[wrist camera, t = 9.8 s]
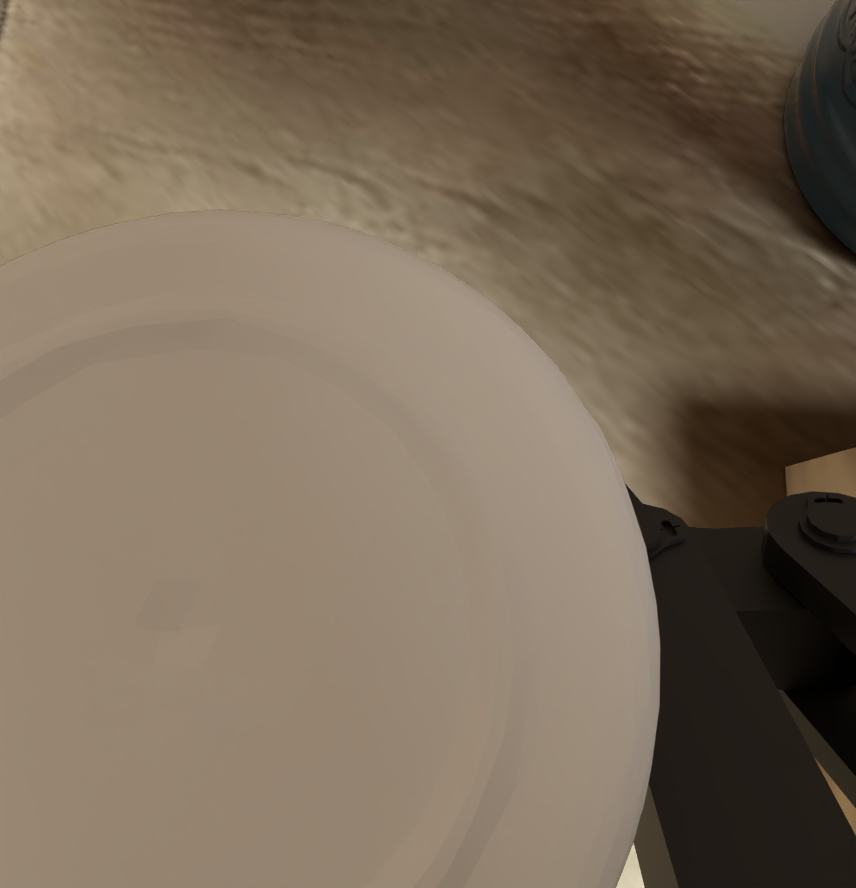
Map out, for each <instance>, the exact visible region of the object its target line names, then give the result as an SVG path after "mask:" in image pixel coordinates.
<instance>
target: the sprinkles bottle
mask: <svg viewBox="0 0 856 888" xmlns="http://www.w3.org/2000/svg"><path fill="white" fill-rule="evenodd" d="M659 706H660V636H659V625H658V614H657V604H656V598H655V593H654V587H653V582H652V577H651V571H650V566H649V561H648V555H647V550H646V546H645V543H644V540H643V537H642V534H641V530H640V527H639V524H638V521H637V518H636V515H635V512H634V509H633V506H632V503H631V500H630V497H629V494H628V490H627V488H626V485H625V483H624V481H623V478H622V476H621V473H620V471H619V468H618V466H617V463H616V461H615V458H614V456H613V454H612V452H611V449H610V447H609V445H608V443H607V441H606V439H605V437H604V435H603V433H602V431H601V428H600V427H599V425H598V424H597V423H596V421H595V420H594V419H593V418H592V416H591V415H590V414H589V412H588V411H587V410H586V409H585V407H584V406H583V404H582V403H581V401H580V399H579V397H578V395H577V393H576V392H575V391H574V389H573V388H572V387H571V385H570V384H569V382H568V381H567V380H566V378H565V377H564V375H563V374H562V373H561V371H560V370H559V369H558V367H557V366H556V364H555V363H554V362H553V361H552V360H551V359H550V358H549V357H548V356H547V355H546V354H545V353H544V351H543V350H542V349H541V348H540V347H539V346H538V345H537V344H536V343H535V342H534V341H533V340H532V339H531V338H530V337H529V336H528V334H527V333H525V332H524V331H523V330H522V329H521V328H520V327H519V326H518V325H517V324H516V323H515V322H514V321H513V320H512V319H511V318H510V317H508V316H507V315H506V314H505V313H504V312H503V311H502V310H500V309H499V308H498V307H497V306H495V305H494V304H493V303H492V302H490V301H489V300H488V299H486V298H485V297H484V296H483V295H481V294H480V293H479V292H477V291H476V290H474V289H473V288H471V287H470V286H468V285H467V284H465V283H464V282H463V281H461V280H460V279H458V278H457V277H455V276H454V275H452V274H451V273H449V272H448V271H446V270H444V269H442V268H440V267H438V266H437V265H435V264H433V263H431V262H429V261H428V260H426V259H424V258H422V257H420V256H418V255H417V254H414V253H412V252H410V251H407V250H405V249H403V248H400V247H398V246H396V245H394V244H391V243H389V242H387V241H384V240H382V239H380V238H378V237H375V236H372V235H369V234H365V233H362V232H359V231H356V230H353V229H349V228H346V227H342V226H338V225H335V224H331V223H327V222H324V221H318V220H313V219H307V218H301V217H296V216H290V215H285V214H272V213H259V212H245V211H232V210H209V211H193V212H177V213H169V214H164V215H159V216H153V217H148V218H143V219H138V220H132V221H127V222H122V223H117V224H113V225H109V226H105V227H101V228H97V229H94V230H90V231H87V232H84V233H81V234H77V235H74V236H71V237H68V238H65V239H62V240H59V241H56V242H54V243H51V244H49V245H46V246H44V247H42V248H39V249H37V250H35V251H32V252H30V253H27V254H25V255H23V256H20V257H18V258H16V259H13V260H11V261H9V262H7V263H6V264H4V265H2V266H0V888H616V886H617V884H618V881H619V879H620V876H621V873H622V871H623V868H624V866H625V863H626V860H627V858H628V855H629V852H630V850H631V847H632V845H633V842H634V839H635V835H636V831H637V827H638V823H639V820H640V816H641V813H642V811H643V806H644V802H645V797H646V792H647V787H648V782H649V777H650V772H651V767H652V760H653V752H654V745H655V737H656V729H657V721H658V713H659Z"/></svg>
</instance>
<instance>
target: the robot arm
mask: <svg viewBox="0 0 856 888" xmlns="http://www.w3.org/2000/svg"><path fill="white" fill-rule="evenodd" d="M625 485H626V484H625ZM626 488H627V490H628V494H629V497H630V500H631V503H632V506H633V509H634V512H635V515H636V518H637V521H638V524H639V527H640V530H641V534H642V537H643V540H644V543H645V546H646V550H647V555H648V561H649V566H650V571H651V577H652V582H653V587H654V593H655V598H656V604H657V614H658V625H659V636H660V706H659V713H658V721H657V729H656V737H655V745H654V752H653V760H652V767H651V772H650V777H649V782H648V787H647V792H646V797H645V802H644V806H643V811H642V813H641V816H640V820H639V823H638V827H637V831H636V835H635V839H634V845H635V849H636V853H637V857H638V862H639V866H640V870H641V874H642V878H643V882H644V886H645V888H856V835H855V833H854V831H853V829H852V827H851V825H850V824H849V822H848V820H847V818H846V816H845V814H844V812H843V811H842V809H841V807H840V805H839V803H838V801H837V799H836V797H835V796H834V794H833V792H832V790H831V788H830V786H829V784H828V783H827V781H826V779H825V777H824V775H823V773H822V771H821V770H820V768H819V766H818V764H817V762H816V760H817V761H818V762H819V764H820V765H821V766H822V767H823V769H824V770H825V771H826V772H827V774H828V775H829V776H830V777H831V779H832V780H833V781H834V782H835V784H836V785H837V786H838V787H839V788H840V790H841V791H842V792H843V793H844V795H845V796H846V797H847V798H848V800H849V801H850V802H851V803H852V805H853V806H854V807H855V808H856V498H855V497H852V496H848V495H844V494H840V493H832V492H816V491H811V492H805V493H799V494H793V495H789V496H787V497H785V498H784V499H782V500H780V501H778V502H776V503H774V504H773V506H772V508H771V509H770V511H769V513H768V514H767V516H766V521H765V526H763V527H743V528H723V529H705V528H694V527H688V526H687V525H686V523H685V522H684V521H683V520H682V519H681V518H679V517H678V516H676V515H674V514H672V513H670V512H669V511H667V510H665V509H662V508H658V507H654V506H650V505H645V504H642V503H641V502H640V500H639V499H638V498H637V497H636V496H635V495H634V493H633V492H632V491H631V490H630V489H629V487H628V486H627V485H626ZM815 759H816V760H815Z"/></svg>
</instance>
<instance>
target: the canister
mask: <svg viewBox="0 0 856 888" xmlns="http://www.w3.org/2000/svg"><path fill="white" fill-rule="evenodd" d="M784 136H785V144H786V149H787V154H788V158H789V161H790V164H791V167H792V170H793V173H794V175H795V178H796V180H797V182H798V184H799V186H800V188H801V190H802V192H803V194H804V196H805V197H806V199H807V201H808V202H809V204H810V205H811V207H812V208H813V210H814V211H815V213H816V214H817V215H818V217H819V218H820V219H821V220H822V222H823V223H824V224H825V225H826V226H827V227H828V229H829V230H830V231H831V232H832V233H833V234H834V235H835V236H836V237H837V238H838V239H839V240H840V241H841V242H842V243H843V244H844V245H845V246H847V247H848V248H849V249H850V250H851V251H853V252H854V253H855V254H856V0H836V1H835V3H834V5H833V6H832V8H831V10H830V11H829V12H828V13H827V15H826V16H825V17H824V18H823V20H822V21H821V23H820V24H819V26H818V27H817V29H816V30H815V32H814V34H813V36H812V38H811V40H810V42H809V44H808V47H807V49H806V52H805V54H804V57H803V60H802V62H801V63H800V65H799V66H798V68H797V70H796V72H795V74H794V76H793V79H792V81H791V84H790V87H789V90H788V94H787V97H786V103H785V110H784Z"/></svg>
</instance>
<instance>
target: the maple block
mask: <svg viewBox="0 0 856 888" xmlns="http://www.w3.org/2000/svg"><path fill="white" fill-rule="evenodd" d="M785 476H786V489H787V496H789V495H793V494H799V493H805V492H811V491H816V492H832V493H840V494H844V495H848V496H852V497H855V498H856V447H855V448H851V449H848V450H844V451H840V452H837V453H833V454H830V455H826V456H823V457H819V458H816V459H812V460H808V461H805V462H801V463H798V464H794V465H791V466H787V467H785ZM815 760H816V759H815ZM816 762H817V764H818V766H819V768H820V770H821V771H822V773H823V775H824V777H825V779H826V781H827V783H828V784H829V786H830V788H831V790H832V792H833V794H834V796H835V797H836V799H837V801H838V803H839V805H840V807H841V809H842V811H843V812H844V814H845V816H846V818H847V820H848V822H849V824H850V825H851V827H852V829H853V831H854V833H855V835H856V808H855V807H854V806H853V805H852V803H851V802H850V801H849V800H848V798H847V797H846V796H845V795H844V793H843V792H842V791H841V790H840V788H839V787H838V786H837V785H836V784H835V782H834V781H833V780H832V779H831V777H830V776H829V775H828V774H827V772H826V771H825V770H824V769H823V767H822V766H821V765H820V764H819V762H818V761H817V760H816Z"/></svg>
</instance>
